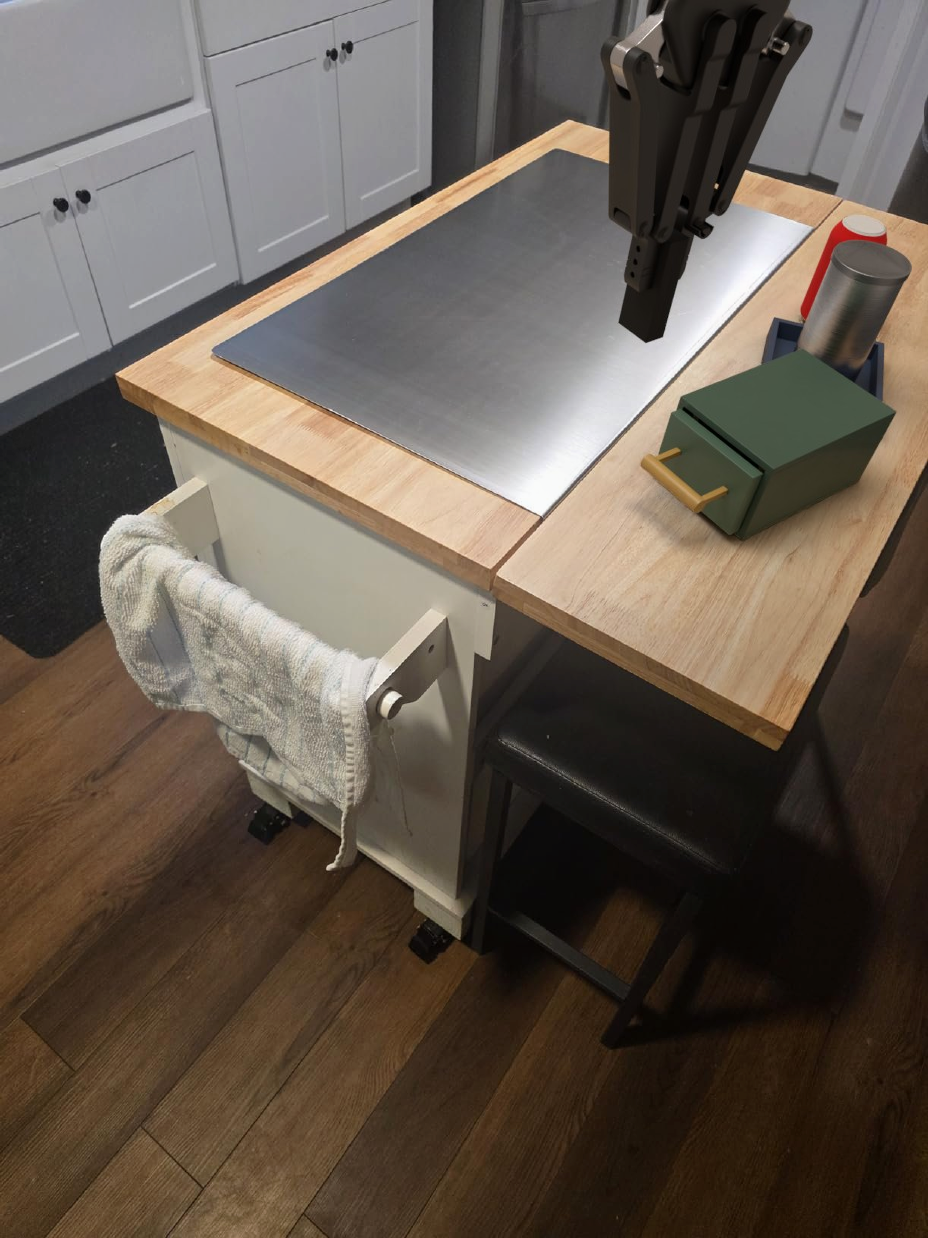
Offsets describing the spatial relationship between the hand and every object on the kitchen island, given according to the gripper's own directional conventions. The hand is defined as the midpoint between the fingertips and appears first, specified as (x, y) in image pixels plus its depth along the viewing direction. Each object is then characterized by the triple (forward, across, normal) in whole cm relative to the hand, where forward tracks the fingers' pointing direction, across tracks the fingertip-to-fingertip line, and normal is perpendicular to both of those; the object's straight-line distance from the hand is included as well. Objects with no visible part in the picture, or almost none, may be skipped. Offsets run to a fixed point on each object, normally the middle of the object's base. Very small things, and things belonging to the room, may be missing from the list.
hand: (640, 329), depth 56 cm
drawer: (+23, -20, -2) cm, 31 cm away
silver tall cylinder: (+23, -41, -10) cm, 48 cm away
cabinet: (+24, -24, -2) cm, 34 cm away
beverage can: (+24, -52, -18) cm, 60 cm away
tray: (+24, -41, -10) cm, 48 cm away
